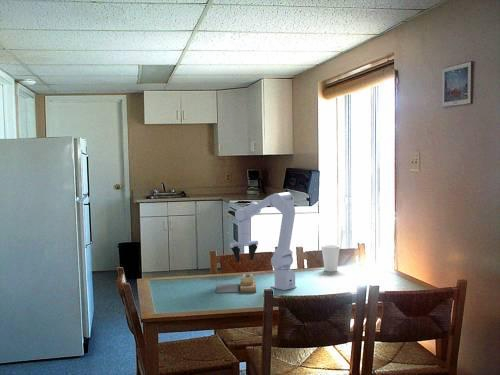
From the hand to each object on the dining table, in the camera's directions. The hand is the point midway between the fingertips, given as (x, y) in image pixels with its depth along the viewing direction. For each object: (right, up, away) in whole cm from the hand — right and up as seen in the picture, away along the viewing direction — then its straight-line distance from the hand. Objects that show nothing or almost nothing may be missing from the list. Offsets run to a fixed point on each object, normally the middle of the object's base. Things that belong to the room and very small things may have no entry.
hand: (244, 260), depth 287 cm
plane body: (+2, -11, -15) cm, 18 cm away
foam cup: (+45, -8, +23) cm, 51 cm away
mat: (-8, -11, -15) cm, 20 cm away
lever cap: (+2, -8, -15) cm, 17 cm away
